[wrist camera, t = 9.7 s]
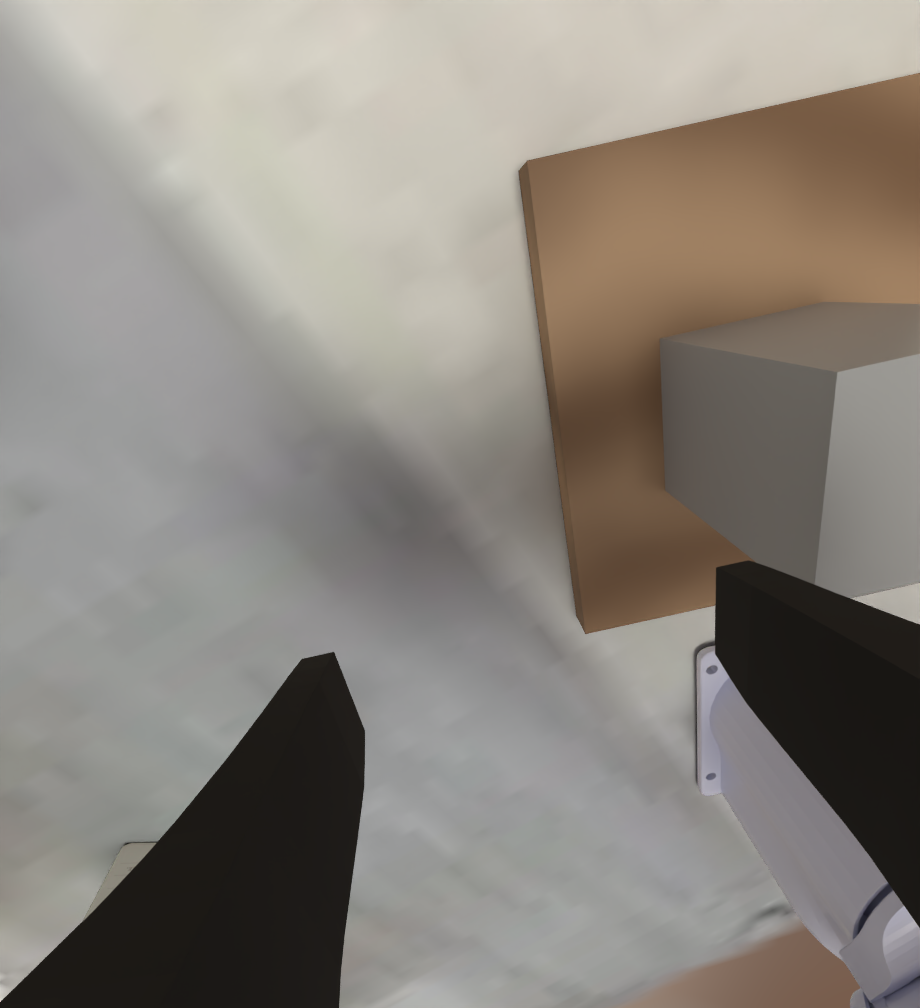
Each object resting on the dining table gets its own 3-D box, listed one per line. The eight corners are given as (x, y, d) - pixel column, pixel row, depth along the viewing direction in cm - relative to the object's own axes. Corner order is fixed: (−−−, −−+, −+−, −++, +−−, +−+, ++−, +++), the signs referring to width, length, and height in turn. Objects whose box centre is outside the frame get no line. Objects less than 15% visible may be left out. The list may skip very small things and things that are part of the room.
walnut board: (856, 553, 21) (881, 568, 20) (576, 615, 21) (585, 633, 20) (925, 79, 14) (968, 62, 13) (518, 170, 14) (527, 161, 13)
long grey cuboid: (809, 458, 17) (1042, 555, 11) (665, 490, 17) (812, 606, 11) (823, 301, 15) (1121, 308, 9) (659, 338, 15) (837, 372, 9)
